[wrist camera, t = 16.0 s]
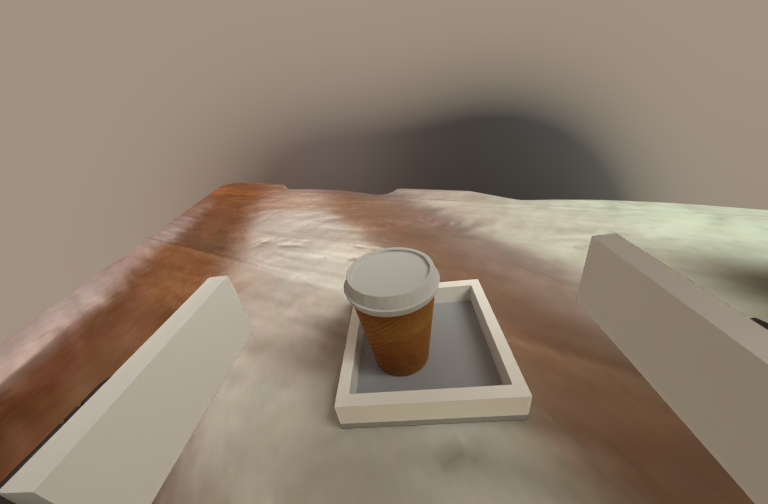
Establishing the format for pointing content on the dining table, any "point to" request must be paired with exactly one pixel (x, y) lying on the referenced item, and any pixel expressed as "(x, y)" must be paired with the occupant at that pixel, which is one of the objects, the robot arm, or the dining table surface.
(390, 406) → the square well
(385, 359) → the disposable coffee cup
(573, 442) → the dining table surface
